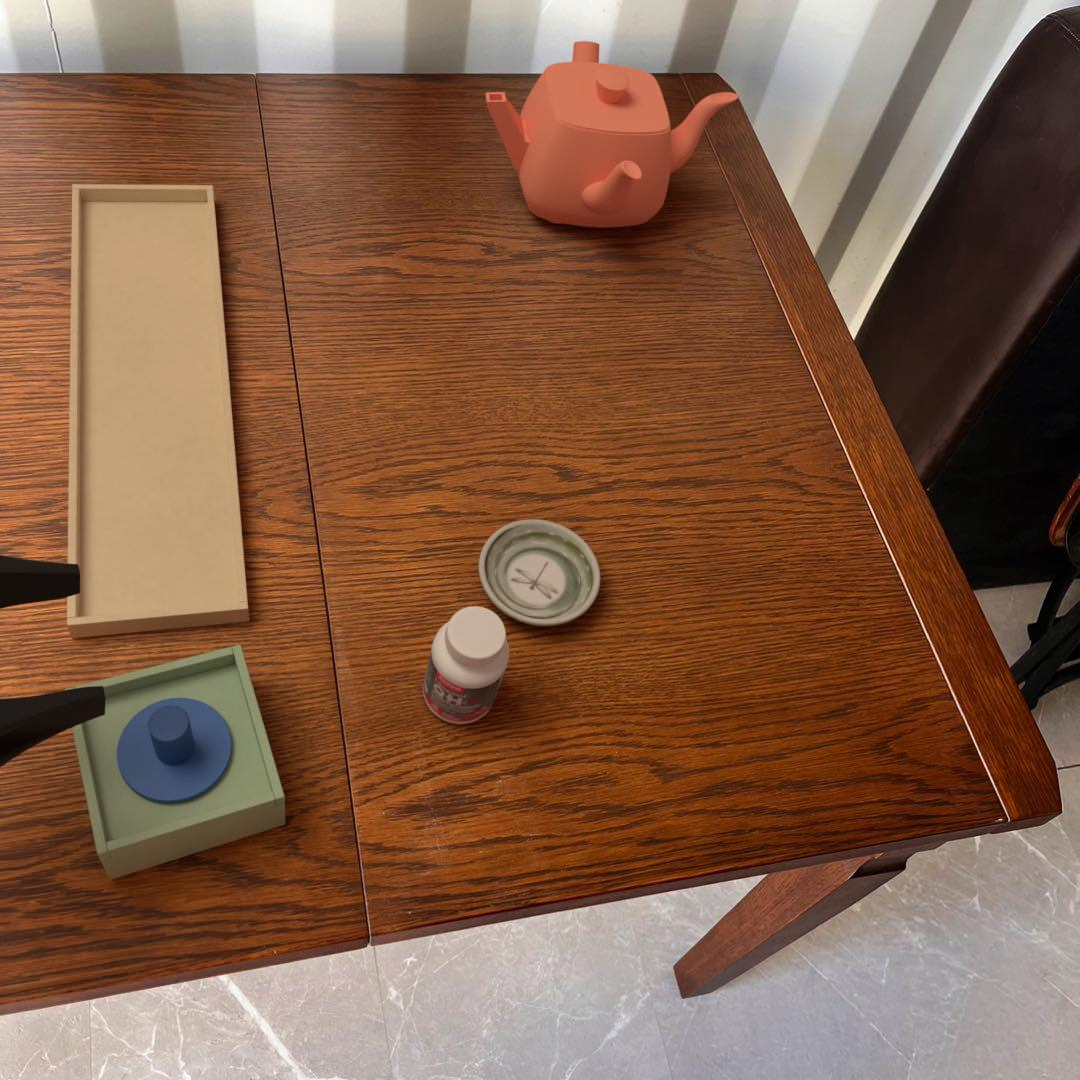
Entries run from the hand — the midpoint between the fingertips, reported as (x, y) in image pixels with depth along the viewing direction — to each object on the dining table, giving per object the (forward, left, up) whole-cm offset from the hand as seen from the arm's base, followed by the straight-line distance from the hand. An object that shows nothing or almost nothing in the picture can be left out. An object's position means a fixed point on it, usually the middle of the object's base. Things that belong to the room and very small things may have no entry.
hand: (91, 637), depth 58 cm
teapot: (+55, +47, -18) cm, 75 cm away
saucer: (+32, +5, -18) cm, 37 cm away
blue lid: (+3, -2, -14) cm, 15 cm away
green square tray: (+3, -2, -18) cm, 18 cm away
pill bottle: (+23, -2, -18) cm, 29 cm away
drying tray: (+8, +32, -18) cm, 37 cm away
